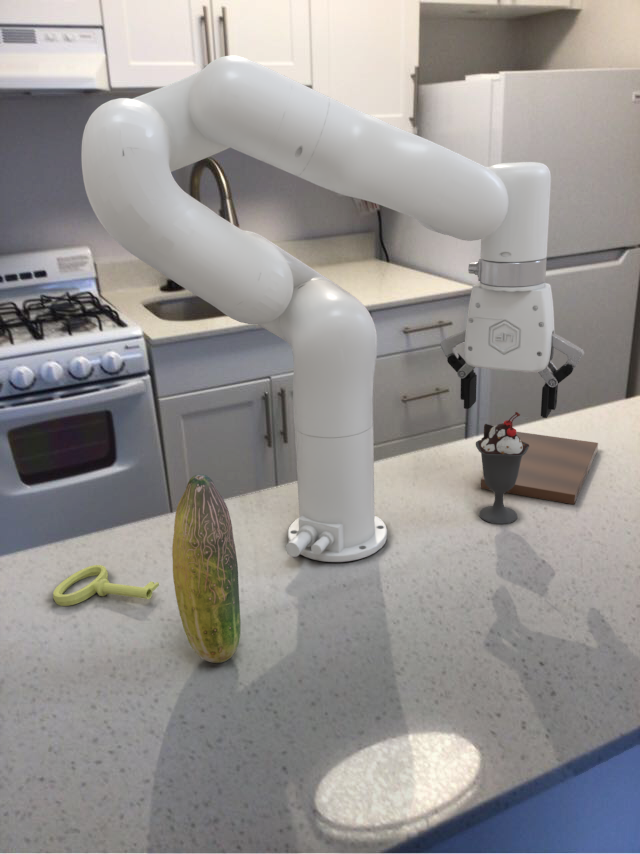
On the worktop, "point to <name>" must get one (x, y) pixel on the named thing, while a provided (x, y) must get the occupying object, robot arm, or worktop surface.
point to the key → (98, 587)
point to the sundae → (500, 467)
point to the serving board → (552, 467)
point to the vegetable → (206, 571)
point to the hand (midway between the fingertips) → (507, 409)
